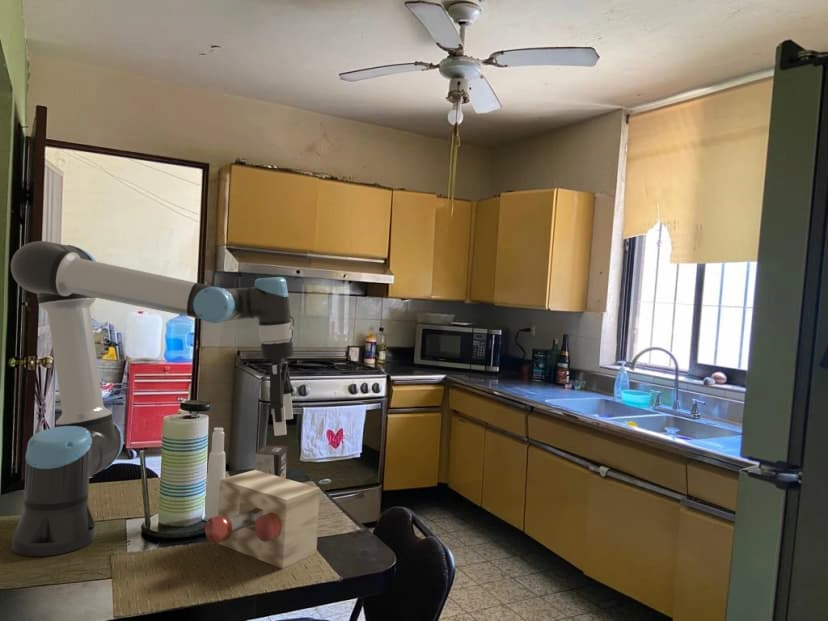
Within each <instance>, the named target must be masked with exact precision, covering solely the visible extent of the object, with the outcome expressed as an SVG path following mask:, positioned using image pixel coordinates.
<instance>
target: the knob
mask: <svg viewBox="0 0 828 621" xmlns="http://www.w3.org/2000/svg"><path fill="white" fill-rule="evenodd" d="M260 516H263V509H260V508H254V509H251V510H249V511H246V512H243V513H240V514H237V515H234V516H231V517H227V516H226V515H219V516H216V517H213V518H210V519H208V520H207V522H205V525H204V532H205V536H206V538H207V540H208V541H209V543H211V544H212V545H217V544H218V543H220V542H223V541H225V540H228V539H229V538H230V537H231V534H232V532H234V531H237V530H240V529H242V528H245V527H248V526H250V525H253V524H255V522H256V520H257V518H258V517H260Z"/></svg>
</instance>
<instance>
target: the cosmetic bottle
mask: <svg viewBox="0 0 828 621" xmlns="http://www.w3.org/2000/svg"><path fill="white" fill-rule="evenodd" d="M211 437H212V438H211V451H210V452H209V455H208V456H209V457H208V465H207V476H206V486H205V493H206V496H205V495H204V500H205V514H206V517H207V518H213V517H216V516H218V510H219V491H220V479H223V478H226V452H225V451H224V450H225V449H224V448H225V447H224V446H225V432H224V427H214V428H213V432H212V435H211Z"/></svg>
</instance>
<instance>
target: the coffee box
mask: <svg viewBox="0 0 828 621" xmlns="http://www.w3.org/2000/svg"><path fill="white" fill-rule="evenodd" d="M287 455H288V446H283V445H263V446H262V447H261V448H260V449H258V450H257V451H256V452H255V453H254V461H253V462H254V463H253V470H257V471H261V472H264V473H268V474H271V475H275V476H278V477H282V478H286V475H287V457H288V456H287ZM286 479H287V478H286Z"/></svg>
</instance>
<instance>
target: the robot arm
mask: <svg viewBox="0 0 828 621" xmlns="http://www.w3.org/2000/svg"><path fill="white" fill-rule="evenodd" d="M10 272H11V274H12V277H13V279H14V280H15V282H16V283H17V284H18V285H19V286H20V287H21V288H23V289H24V290H25V291H28V292H30V293H33V294H36V295H37V302H38V303H37V304H38V306H39V307H40V308H42V309H44V310H45V311H46V312H47V319H48V324H49V331H50V339H51V345H52V352H53V359H54V366H55V371H56V372H55V373H56V380H57V386H58V392H59V399H60V400H59V401H60V407H61V415H60V416H59V417H58V419H57V420H56V421H55V425H56V426H55V427H53V428H46V429H43V430H41V431H39V432H37V433H35V434H34V435H32V436H31V437H30V439H29V440H28V441H27V447H26V451H25V456H24V457H25V458H24V459H25V473H24V474H25V479H24V496H23V497H24V501H23V502H24V503H23V504H24V505H23V510H22V513H21V516H20V517H19V518H20V519H19V521H18V523H17V525H16V527H15V530H14V533H13V534H12V539H11V549H12V551H13V552H14V553H15V554H18V555H21V556H27V557H28V556H29V557H48V556H56V555H57V556H58V555H63V554H66V553H70V552H73V551H76V550H77V551H78V550H79V549H81V548H84V547H86V546H88V545H89V544H91V543H93V541H94V540H95V538H96V523H95V520H94V517H93V515H92V511H91V508H90V505H89V486H90V484H89V483H90V478H92V477H93V476H94V475H96V474H98V473H99V472H101V471H103V470H105V469H107V468H109V467H110V466H111V465H112V464H113V463H114V462H115V461H116V460H117V458H118V457H119V455H120V454H121V453H122V449H123V446H124V435H123V432H122V430H121V428H120V427H119V425H118V424H116V423H115V422H114V418H113V412H112V411H111V410H110V409H108V408H107V407H105V406H104V399H103V393H102V387H101V386H102V385H101V378H100V372H99V371H100V370H99V364H98V357H97V350H96V345H95V336H94V329H93V323H92V317H91V316H92V315H91V310H90V308H91V306H92V304H94V302H95V301H96V299H101V300H106V301H112V302H115V303H121V304H127V305H131V306H136V307H141V308H146V309H151V310H156V311H161V312H165V313H170V314H175V315H179V316H180V315H181V316H186V317H191V318H195V319H200V320H202V321H204V322H206V323H211V324H219V323H223V322H227V321H228V322H229V321H237V320H247V319H257V321H258V334H259V341H261V342H262V343H261V344H260V350H261V358H262V359H264V360H271V365H269V366H268V371H269V405H268V406H267V407H268V410H271V411H272V421H273V422H272V423H273V431H274V433H273V434H274V436H275V437H276V436H284V435H285V436H286V435H287V432H288V431H287V424H286V423H287V422H286V420H293V419H294V413H293V403H292V393H294V390H295V389H294V387H293V388H292V383H291V377H290V370H289V364H288V358H290V357H292V356H293V355H294V346H293V341H292V340H291V339H292V338H293V335H292V331H294V329H295V328H294V326H292V325H291V313H290V312H291V311H290V299H289V298H290V296H289V290H288V284H287V280H286V278H285V277H282V276H276V277H275V276H274V277H262V278H257V279H255V280H254V286H251V287H237V288H235V287H234V288H226V287H219V286H213V285H209V284H205V283H197V282H194V281H189V280H186V279H185V280H184V279H182V278H181V279H180V278H175V277H170V276H166V275H160V274H157V273H156V274H155V273H150V272H147V271H142V270H139V269H138V270H137V269H133V268H127V267H123V266H117V265H114V264H113V265H112V264H108V263H105V262H104V263H103V262H98V261H96V259H95V258H94V257H93V255H92V254H90V253H89V252H88V251H87V250H84V249H82V248H80V247H77V246H75V245H70V244H62V243H56V242H50V241H46V240H45V241H43V240H37V241H32V242H29V243H26V244H24V245H22V246H20V248H19V249H17V250H16V251H15V253H14V254H13V256H12V259H11V261H10Z"/></svg>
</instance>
